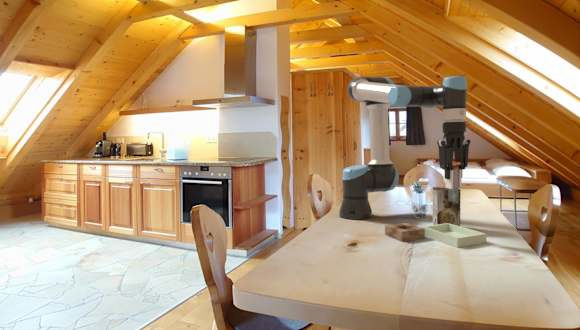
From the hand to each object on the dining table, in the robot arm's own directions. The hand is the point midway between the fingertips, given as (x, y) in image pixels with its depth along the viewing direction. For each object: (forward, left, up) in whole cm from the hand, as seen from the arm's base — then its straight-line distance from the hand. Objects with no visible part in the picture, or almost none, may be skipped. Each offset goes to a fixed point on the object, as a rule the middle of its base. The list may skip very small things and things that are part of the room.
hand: (453, 187), depth 129 cm
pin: (0, 0, -5) cm, 5 cm away
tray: (0, 0, -19) cm, 19 cm away
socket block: (-10, -13, -19) cm, 25 cm away
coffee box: (-13, +10, -19) cm, 24 cm away
